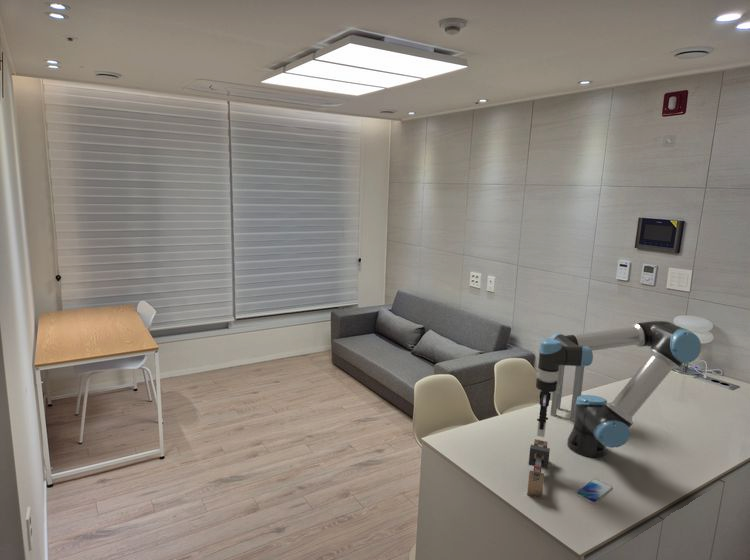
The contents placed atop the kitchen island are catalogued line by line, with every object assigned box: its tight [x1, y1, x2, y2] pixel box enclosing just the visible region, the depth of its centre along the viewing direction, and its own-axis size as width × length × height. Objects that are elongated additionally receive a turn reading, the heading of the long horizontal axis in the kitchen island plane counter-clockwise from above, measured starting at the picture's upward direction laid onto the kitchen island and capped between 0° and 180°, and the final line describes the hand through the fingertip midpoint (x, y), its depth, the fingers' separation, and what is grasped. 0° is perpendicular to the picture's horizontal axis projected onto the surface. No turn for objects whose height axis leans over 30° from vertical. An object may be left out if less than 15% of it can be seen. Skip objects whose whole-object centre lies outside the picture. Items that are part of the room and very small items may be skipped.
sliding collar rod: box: [526, 439, 549, 499], centre depth 182 cm, size 5×28×8 cm, turn 158°
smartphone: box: [575, 478, 613, 505], centre depth 175 cm, size 7×1×15 cm
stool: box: [549, 365, 585, 422], centre depth 233 cm, size 16×16×35 cm
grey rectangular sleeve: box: [528, 444, 551, 470], centre depth 183 cm, size 7×3×7 cm, turn 68°
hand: (540, 435), depth 188 cm, fingers closed
